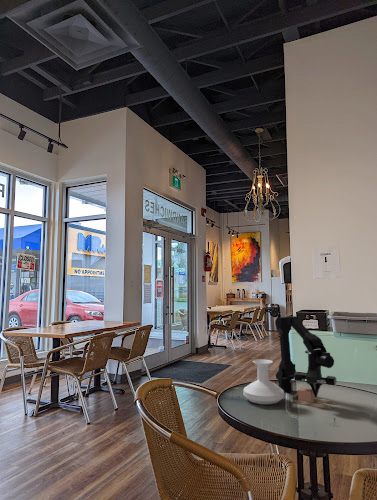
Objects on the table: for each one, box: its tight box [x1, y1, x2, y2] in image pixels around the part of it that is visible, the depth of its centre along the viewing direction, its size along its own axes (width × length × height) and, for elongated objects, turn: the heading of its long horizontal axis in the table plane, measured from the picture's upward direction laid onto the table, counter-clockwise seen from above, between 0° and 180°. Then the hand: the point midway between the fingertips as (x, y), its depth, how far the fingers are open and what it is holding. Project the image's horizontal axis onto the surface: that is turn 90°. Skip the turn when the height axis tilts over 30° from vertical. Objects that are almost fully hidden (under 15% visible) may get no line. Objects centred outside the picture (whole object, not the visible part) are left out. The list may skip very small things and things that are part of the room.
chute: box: [291, 391, 335, 410], centre depth 177 cm, size 18×9×3 cm, turn 57°
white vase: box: [242, 358, 285, 405], centre depth 182 cm, size 20×20×19 cm
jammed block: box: [297, 386, 315, 403], centre depth 179 cm, size 6×6×6 cm
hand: (315, 396), depth 176 cm, fingers closed
